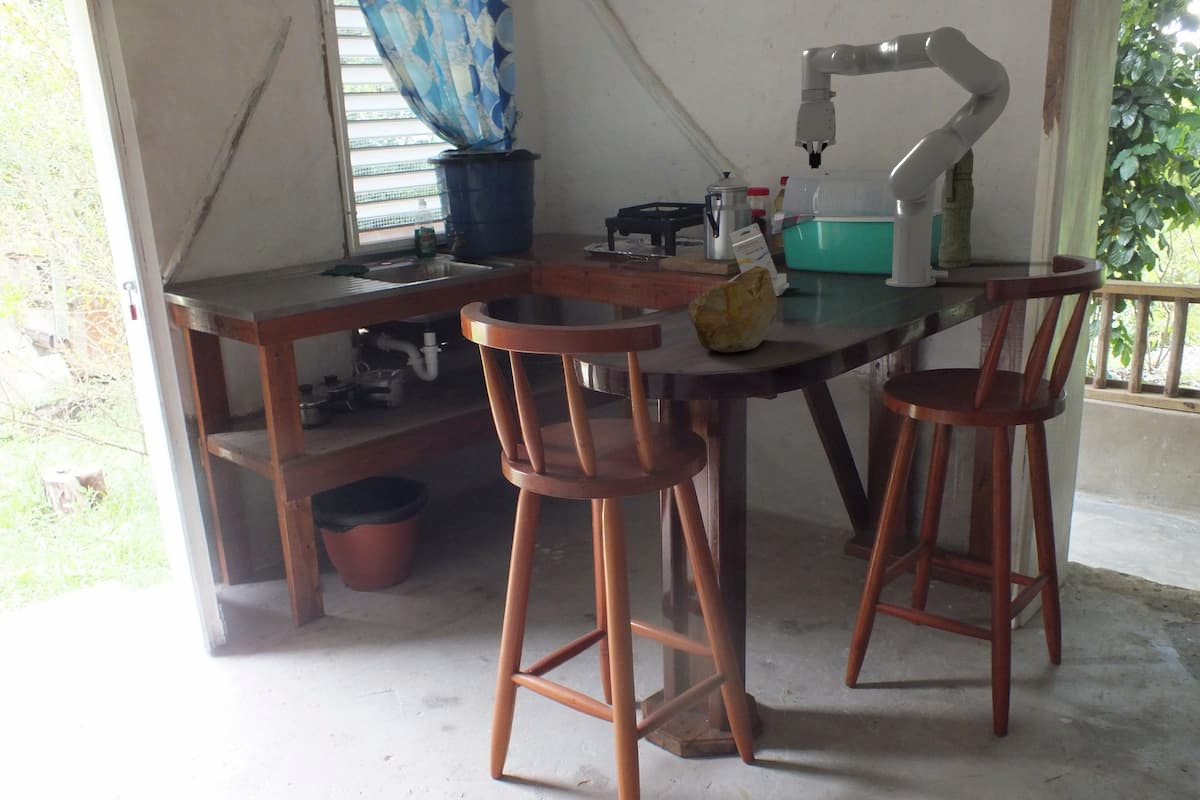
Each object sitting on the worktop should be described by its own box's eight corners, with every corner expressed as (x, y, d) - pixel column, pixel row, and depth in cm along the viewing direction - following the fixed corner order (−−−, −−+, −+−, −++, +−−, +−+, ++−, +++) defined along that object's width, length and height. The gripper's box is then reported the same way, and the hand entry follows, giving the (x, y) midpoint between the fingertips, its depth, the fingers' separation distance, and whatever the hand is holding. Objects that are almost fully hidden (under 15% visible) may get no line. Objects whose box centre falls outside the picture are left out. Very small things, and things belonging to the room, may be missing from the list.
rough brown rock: (713, 332, 207) (712, 262, 203) (787, 337, 198) (787, 264, 194) (662, 353, 188) (660, 277, 184) (741, 360, 179) (741, 280, 175)
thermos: (932, 270, 282) (937, 146, 273) (944, 265, 291) (950, 145, 282) (963, 271, 277) (970, 145, 268) (974, 266, 286) (981, 144, 277)
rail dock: (788, 288, 261) (789, 273, 260) (778, 297, 247) (778, 281, 246) (738, 287, 266) (737, 273, 265) (725, 296, 252) (724, 281, 251)
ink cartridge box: (747, 288, 254) (726, 236, 252) (747, 285, 259) (727, 234, 257) (777, 276, 252) (757, 223, 250) (778, 273, 257) (758, 221, 254)
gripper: (846, 96, 256) (845, 167, 261) (790, 99, 261) (789, 168, 266) (842, 95, 249) (841, 168, 254) (785, 98, 255) (784, 169, 259)
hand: (814, 168), depth 260 cm, fingers closed
